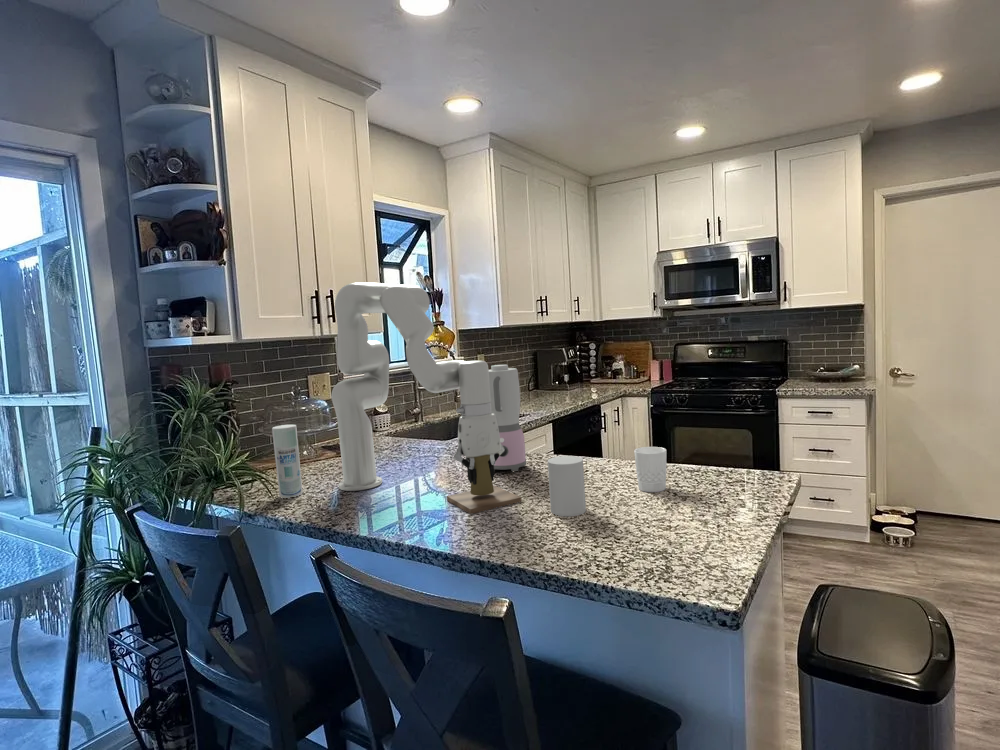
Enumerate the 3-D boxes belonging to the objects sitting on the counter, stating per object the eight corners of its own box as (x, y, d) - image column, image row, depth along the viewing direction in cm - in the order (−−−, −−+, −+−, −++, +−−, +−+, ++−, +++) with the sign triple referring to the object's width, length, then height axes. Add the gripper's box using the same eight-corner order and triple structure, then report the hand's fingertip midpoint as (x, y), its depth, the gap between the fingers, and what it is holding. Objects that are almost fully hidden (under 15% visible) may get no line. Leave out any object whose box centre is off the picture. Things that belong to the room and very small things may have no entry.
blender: (491, 464, 185) (483, 365, 182) (528, 462, 183) (521, 362, 180) (481, 477, 169) (473, 369, 167) (522, 476, 167) (514, 366, 165)
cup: (588, 505, 136) (585, 455, 135) (582, 517, 128) (579, 464, 127) (555, 504, 139) (552, 455, 138) (547, 515, 131) (543, 464, 130)
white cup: (633, 492, 144) (631, 453, 143) (638, 483, 151) (636, 446, 150) (666, 493, 141) (664, 453, 140) (669, 484, 148) (667, 446, 147)
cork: (495, 487, 148) (492, 445, 147) (492, 494, 142) (489, 451, 141) (472, 488, 149) (469, 447, 148) (468, 495, 143) (465, 452, 142)
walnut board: (447, 500, 148) (446, 496, 148) (494, 489, 155) (494, 485, 155) (470, 514, 136) (470, 509, 136) (521, 501, 143) (521, 497, 143)
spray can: (302, 490, 169) (295, 423, 167) (304, 496, 163) (297, 426, 161) (278, 494, 166) (271, 426, 164) (279, 500, 160) (272, 429, 158)
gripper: (451, 416, 136) (457, 491, 138) (512, 407, 144) (517, 478, 146) (439, 413, 143) (445, 485, 145) (498, 404, 151) (503, 472, 152)
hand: (481, 480), depth 145 cm, fingers closed on cork, 4 cm apart
